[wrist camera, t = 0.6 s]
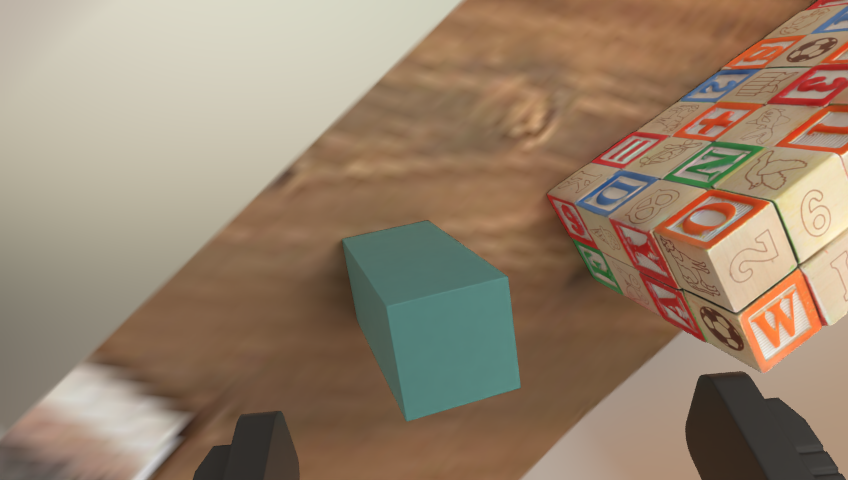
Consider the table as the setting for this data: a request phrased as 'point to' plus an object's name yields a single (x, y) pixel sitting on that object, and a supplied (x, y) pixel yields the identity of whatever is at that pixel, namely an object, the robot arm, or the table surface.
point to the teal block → (432, 317)
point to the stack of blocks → (733, 198)
